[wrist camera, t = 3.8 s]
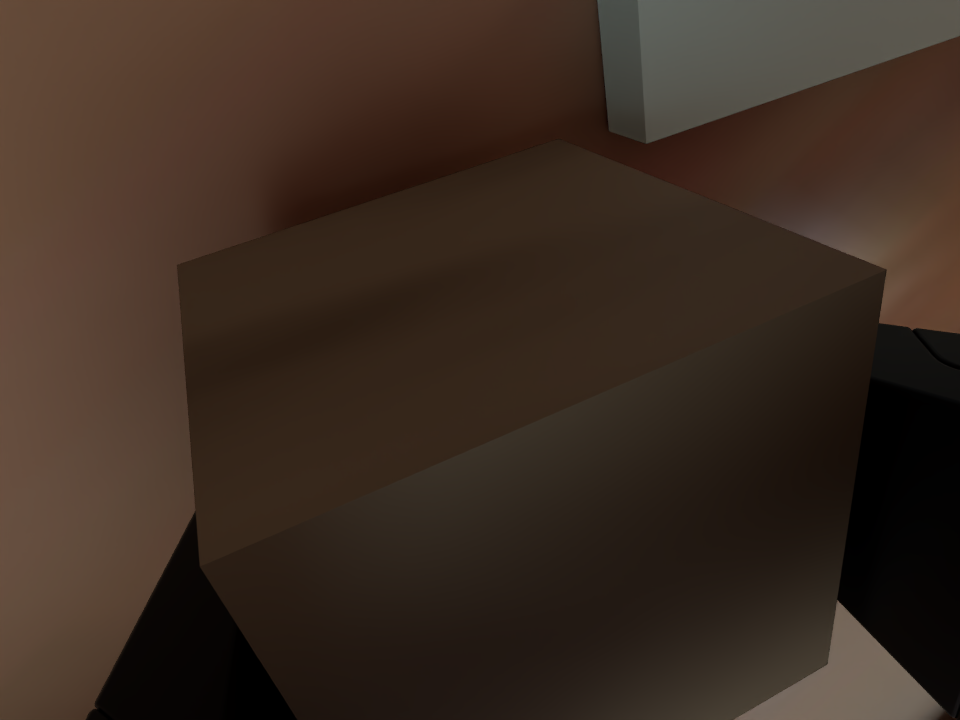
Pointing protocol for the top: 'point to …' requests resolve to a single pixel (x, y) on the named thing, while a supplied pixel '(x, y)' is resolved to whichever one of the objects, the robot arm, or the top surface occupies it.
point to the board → (746, 52)
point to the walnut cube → (529, 446)
